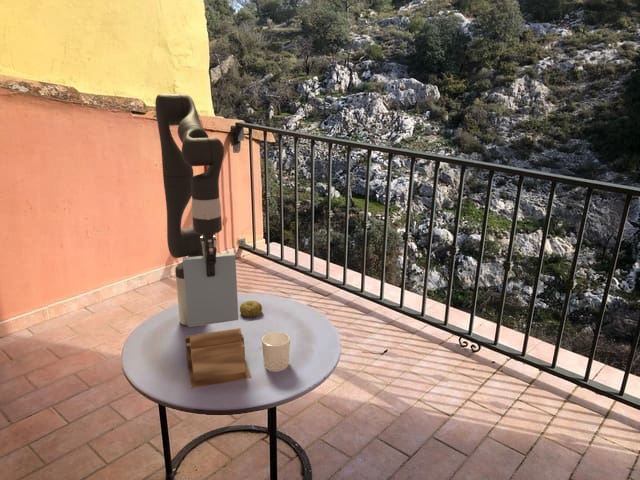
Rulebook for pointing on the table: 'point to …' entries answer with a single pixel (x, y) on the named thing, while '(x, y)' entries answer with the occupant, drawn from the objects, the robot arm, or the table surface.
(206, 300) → the tall board
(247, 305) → the sculpture
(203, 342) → the tall oak offcut
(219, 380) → the rack
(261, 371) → the table surface
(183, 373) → the table surface
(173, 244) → the robot arm
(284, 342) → the white cup
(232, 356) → the short oak offcut
